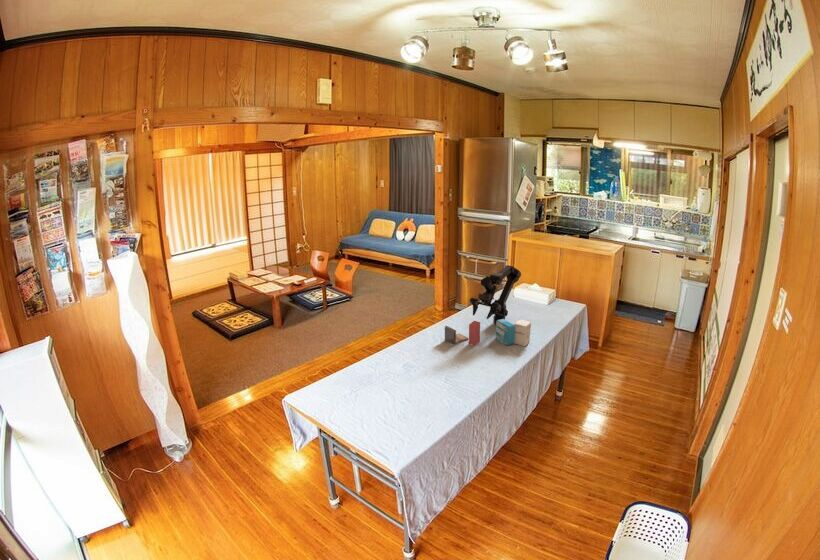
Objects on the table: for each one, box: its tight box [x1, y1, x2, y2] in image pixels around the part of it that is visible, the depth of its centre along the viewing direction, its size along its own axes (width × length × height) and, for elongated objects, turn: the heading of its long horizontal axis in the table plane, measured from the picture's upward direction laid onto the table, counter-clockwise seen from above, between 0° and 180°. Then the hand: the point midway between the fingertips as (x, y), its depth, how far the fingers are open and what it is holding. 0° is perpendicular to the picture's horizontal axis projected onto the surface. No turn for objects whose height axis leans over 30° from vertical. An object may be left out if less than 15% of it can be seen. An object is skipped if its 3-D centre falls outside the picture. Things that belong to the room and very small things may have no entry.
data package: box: [495, 318, 515, 346], centre depth 245 cm, size 12×4×12 cm, turn 26°
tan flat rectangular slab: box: [456, 333, 469, 345], centre depth 251 cm, size 10×8×1 cm
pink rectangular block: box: [468, 320, 481, 346], centre depth 244 cm, size 6×4×12 cm, turn 143°
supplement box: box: [513, 319, 532, 347], centre depth 243 cm, size 7×7×13 cm
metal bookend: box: [444, 325, 457, 346], centre depth 246 cm, size 2×8×9 cm, turn 36°
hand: (480, 317), depth 249 cm, fingers open, 9 cm apart
